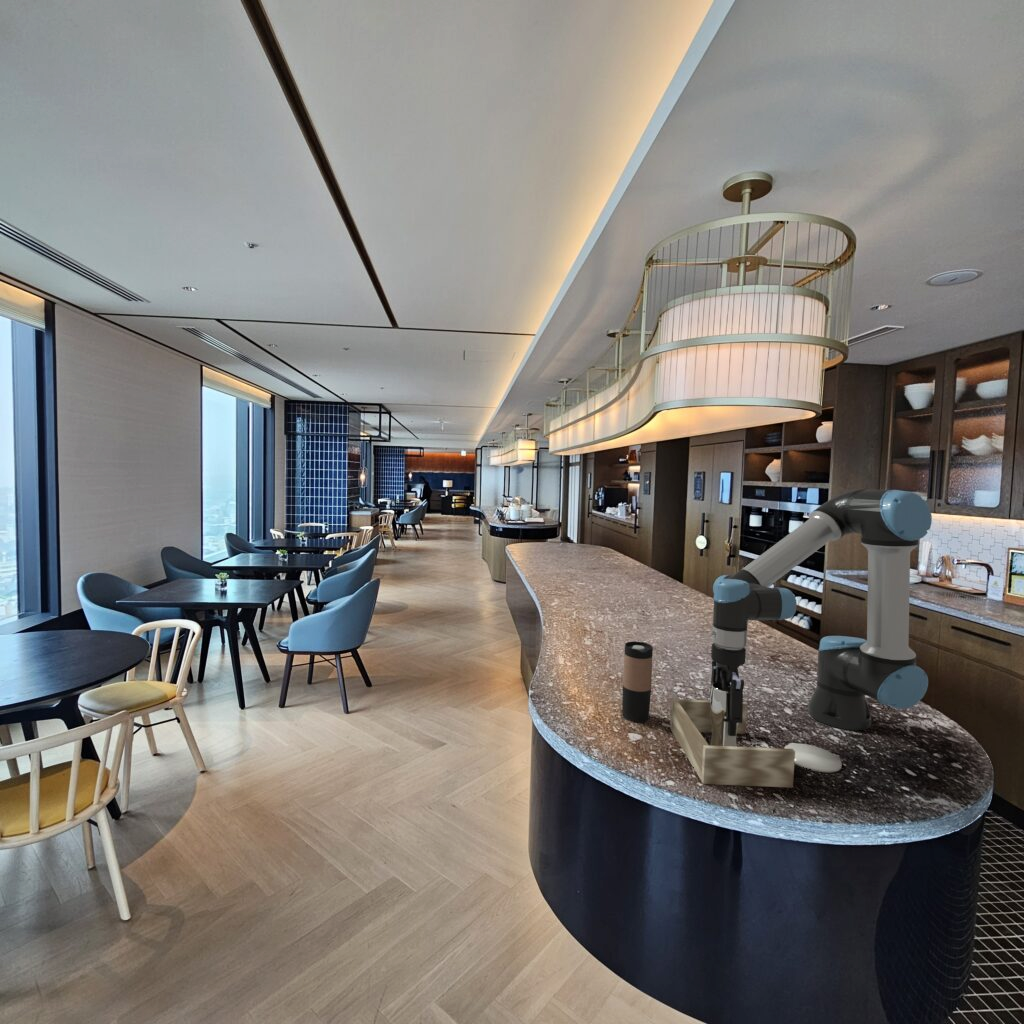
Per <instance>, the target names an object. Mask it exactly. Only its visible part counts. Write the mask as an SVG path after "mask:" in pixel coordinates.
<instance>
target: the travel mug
mask: <svg viewBox="0 0 1024 1024" xmlns="http://www.w3.org/2000/svg"><path fill="white" fill-rule="evenodd" d="M653 649H654V647H653V645H651V644H649V643H647V642H642V641H628V642H626V643H625V644H624V653H623V654H624V656H623V673H622V674H623V675H622V697H621V698H622V704H621V705H622V706H621V707H622V708H621V709H622V711H621V713H622V717H623V718H624V719H625V720H627V721H630V722H632V721H633V722H632V723H645V722H647V721H649V717H650V708H651V707H650V706H651V705H650V704H651V695H652V693H651V692H652V680H653V679H652V676H653V675H652V674H653V673H652V672H653V655H654V653H653V652H654V651H653ZM644 721H645V722H644Z"/></svg>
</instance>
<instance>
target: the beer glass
mask: <svg viewBox="0 0 1024 1024" xmlns="http://www.w3.org/2000/svg"><path fill="white" fill-rule="evenodd" d="M728 687H730V686H728ZM710 688H711V687H710ZM727 693H728V694H730V692H727ZM709 701H710V714H711V722H712V732H711V736H710V740H709V746H723V733H724V721H723V719H726V691H723V690H720V689H717V683H716V682H713V683H712V688H711V695H710V694H709ZM737 727H738V723H737ZM736 747H738V746H737V744H736Z"/></svg>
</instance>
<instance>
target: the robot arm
mask: <svg viewBox="0 0 1024 1024" xmlns="http://www.w3.org/2000/svg"><path fill="white" fill-rule="evenodd" d="M932 517H933V516H932V512H931V507H930V506H929V504H928V503H927V501H926V500H925V499H923V498H922V496H921V495H919V494H918V493H915V492H913V491H908V490H907V491H906V490H901V489H864V488H863V489H862V488H859V489H857V488H856V489H853V490H848V491H845V492H843V493H840V494H838V495H837V496H835V497H833V498H831V499H829V500H827V501H826V502H824V503H822V504H821V505H820V506H818V507H817V508H816V509H813V511H811V512H810V513H809V515H808V519H807V520H806V521H804V522H803V523H802V524H800V525H799V526H798V527H796V528H795V529H794V530H793V531H791V532H790V533H788V534H787V535H785V536H784V537H783V538H782V539H780V540H779V541H778V542H776V543H775V544H773V546H771V547H770V548H768V549H767V550H766V551H764V552H763V553H761V554H760V555H759V556H757V557H756V558H755V559H753V560H752V561H751V562H749V563H748V564H747V565H745V567H743V568H741V569H740V570H738V571H737V572H736V573H734V574H733V575H731V574H723V575H720V576H719V577H717V578H716V579H715V581H714V583H713V586H712V592H713V615H712V617H713V618H712V630H711V631H710V635H711V636H712V638H711V641H712V644H711V650H710V651H711V652H710V658H711V678H710V679H711V680H710V689H709V696H710V695H711V688H712V683H713V682H716V683H717V689H720V690H723V691H726V719H723V721H724V733H723V746H734V747H736V745H737V736H738V735H737V734H738V733H737V723H742V715H743V702H744V701H743V700H744V688H745V680H744V679H740V674H739V667H741V666H744V665H745V664H746V658H747V657H746V655H747V654H746V653H747V649H746V648H745V647H747V643H748V641H747V640H748V624H749V621H781V620H787V619H791V618H792V617H793V616H794V615H795V614H796V612H797V604H798V603H797V599H796V596H795V594H794V593H793V591H791V590H790V589H788V588H786V587H778V586H776V587H770V586H772V585H773V584H774V583H775V582H777V581H778V580H779V579H781V578H782V577H783V576H785V575H786V574H788V573H789V572H790V571H791V570H793V569H795V568H796V567H797V566H799V565H800V564H801V563H802V562H804V561H805V560H806V559H807V558H809V557H810V556H812V555H813V554H815V553H816V552H817V551H818V550H819V549H820V548H822V547H823V546H825V545H826V544H828V543H829V542H830V541H832V542H836V541H839V540H840V539H841V538H842V537H844V536H845V535H850V534H860V543H861V545H862V546H863V547H864V548H865V549H867V614H866V616H867V617H866V618H867V620H866V624H867V625H866V626H867V627H866V639H865V638H862V637H861V638H860V637H853V636H845V635H827V636H824V637H822V638H821V639H820V641H819V648H818V655H817V675H816V676H817V678H816V686H815V689H814V692H813V693H812V695H811V697H810V700H809V701H808V706H807V713H808V715H809V716H810V717H812V718H813V719H814V720H816V721H818V722H820V723H823V724H825V725H827V726H830V727H834V728H837V729H838V728H839V729H842V730H843V729H844V730H849V731H864V730H865V731H866V730H868V729H870V728H871V727H872V716H871V712H870V708H869V705H868V701H867V699H866V697H869V698H871V699H873V700H875V701H877V702H879V703H880V704H882V705H885V706H889V707H891V708H894V709H896V710H906V709H910V708H912V707H914V706H917V704H918V703H919V702H920V701H921V700H922V699H923V698H924V696H925V694H927V690H928V687H929V678H928V674H927V673H926V672H925V670H924V669H922V668H921V667H920V666H917V654H916V652H915V651H913V649H912V648H911V647H910V646H909V642H910V641H909V640H910V639H909V638H910V637H909V636H910V633H909V632H910V631H909V630H910V589H911V588H910V586H911V585H910V583H911V579H910V578H911V577H910V576H911V552H912V551H913V550H914V549H916V548H918V546H919V540H921V539H923V538H924V537H925V536H926V535H927V534H928V531H930V530H931V527H932V521H933V520H932V519H933V518H932ZM728 686H730V687H728ZM727 692H730V694H728V693H727Z"/></svg>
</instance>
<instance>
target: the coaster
mask: <svg viewBox="0 0 1024 1024" xmlns="http://www.w3.org/2000/svg"><path fill="white" fill-rule="evenodd" d="M784 748H785V749H793V750H794V751H795V762H794V765H796V766H799V767H801V768H803V767H804V768H805V769H806V768H807V770H809V769H811V770H810V771H813V772H814V771H815V772H819V773H826V774H827V773H836V772H839V771H841V769H842V766H843V765H842V761H841V760H840V758H839V757H838V756H837V755H835V754H833V753H832V752H831V751H828V750H826V749H824V748H821V747H819V746H817V745H810V744H806V743H789V744H787V745H785V746H784ZM804 768H803V769H804Z"/></svg>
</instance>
